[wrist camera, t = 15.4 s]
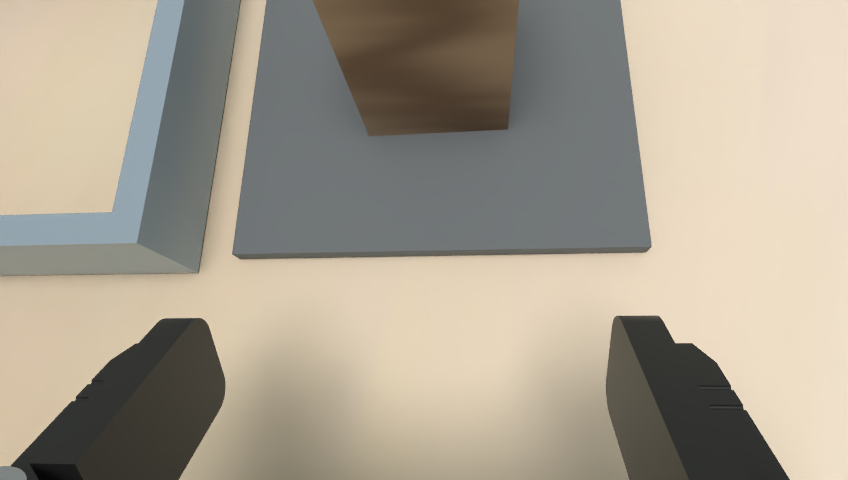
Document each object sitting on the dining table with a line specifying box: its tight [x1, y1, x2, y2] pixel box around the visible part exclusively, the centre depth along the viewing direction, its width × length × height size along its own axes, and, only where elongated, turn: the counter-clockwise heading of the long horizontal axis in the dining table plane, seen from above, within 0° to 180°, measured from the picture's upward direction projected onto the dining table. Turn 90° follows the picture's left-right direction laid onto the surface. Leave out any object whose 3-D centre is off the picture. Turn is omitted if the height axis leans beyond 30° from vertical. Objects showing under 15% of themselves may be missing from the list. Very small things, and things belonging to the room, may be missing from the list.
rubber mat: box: [232, 0, 652, 259], centre depth 20 cm, size 14×14×1 cm
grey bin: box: [0, 0, 240, 276], centre depth 20 cm, size 15×15×4 cm
